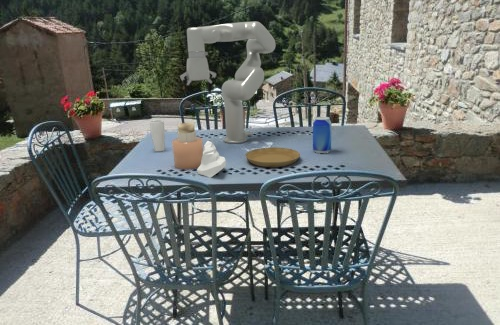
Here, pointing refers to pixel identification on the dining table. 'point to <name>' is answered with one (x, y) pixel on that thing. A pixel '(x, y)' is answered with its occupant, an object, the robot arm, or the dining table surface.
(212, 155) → the soft serve ice cream
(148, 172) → the dining table surface
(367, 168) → the dining table surface
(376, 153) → the dining table surface
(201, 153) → the orange jar
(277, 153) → the plant saucer
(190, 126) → the stopper
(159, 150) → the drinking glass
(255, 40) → the robot arm
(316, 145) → the beer can
